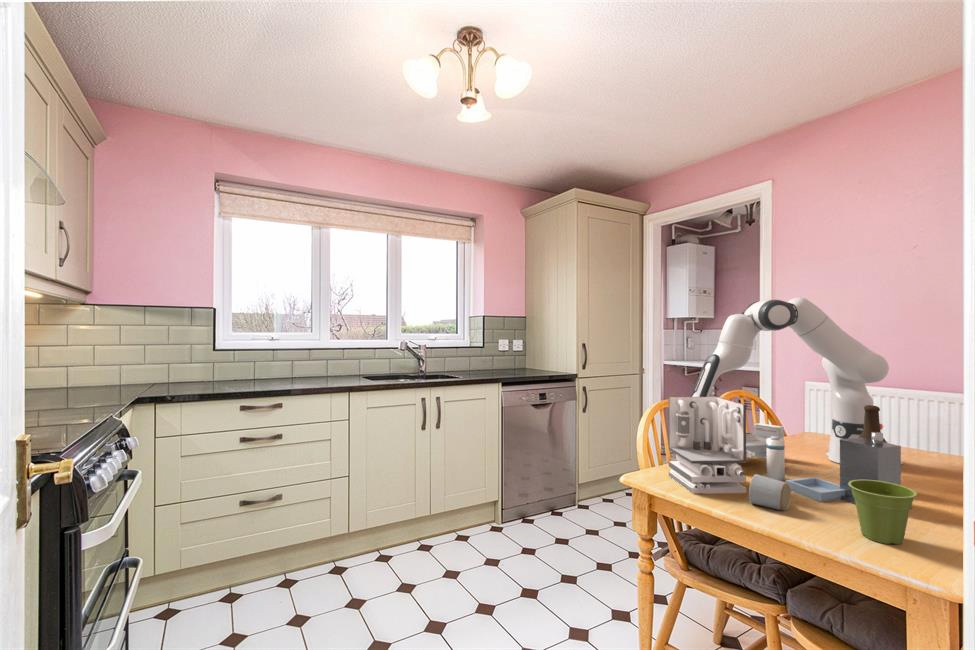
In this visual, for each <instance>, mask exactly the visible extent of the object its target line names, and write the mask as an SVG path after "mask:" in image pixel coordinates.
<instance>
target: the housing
mask: <svg viewBox="0 0 975 650" xmlns="http://www.w3.org/2000/svg"><path fill="white" fill-rule="evenodd" d="M883 438H884V433H883V432H881V433H880V432H871V439H866V438H862V437H861V438H849V439H840V463H839V485H840V489H844V490H845V496H841V500H840V501H843V502H846V503H850V504H852V505H854V506H856V503H855V498H854V497H853V493H852V489H851V487H850V486H849V485H848V482H849V481H852V480H877V481H883V482H889V483H893V484H897V485H901V486H902V482H901V481H902V477H901V476H902V473H901V472H902V466H901V465H902V464H901V461H902V459H901V458H902V456H901V455H902V447H901V445H899V444H894V443H890V442H888V443H885V442H883ZM910 510H912V506H911V507H910Z"/></svg>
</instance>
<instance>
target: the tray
mask: <svg viewBox="0 0 975 650" xmlns="http://www.w3.org/2000/svg"><path fill="white" fill-rule="evenodd" d="M785 483H786V484H788V485H789V487H790V492H792V491H793V493H795V494H799V495H800V494H801V496H804V497H806V498H810V499H811V500H813V501H817V502H819V503H827V502H834V501H842V500H841V496H845V490H844V489H840V484H838V483H835V482H831V481H829V480H825V479H822V478H820V477H815V476H813V477H805V478H795V479H794V478H793V479H785Z"/></svg>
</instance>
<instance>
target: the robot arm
mask: <svg viewBox="0 0 975 650" xmlns="http://www.w3.org/2000/svg"><path fill="white" fill-rule="evenodd" d="M788 327H789V328H790V329H791V330H792V331H793V332H794V333H795V334H796V335H797V336H798V337H799V338H800V339H801V340H802V341H803V342H804V344H806V345H807V346H808V347H809V348H810V349H811V350H813V352H815V353H816V354H819V355H820V356H821V357H823V358H822V360H821V366H822V369H823V371H824V373H825V374H826V376H827V378H828V381H829V384H830V385H829V386H830V389H831V392H832V399H833V401H832V402H833V419H831V421H832V422H831V429H832V430H833V431H832V432H831V433H830V437H829V446H828V451H826V454H825V455H826V456H827V458H828V460H829V461H831V462H834V463H837V464H840V439H849V438H858V437H859V436H860V435H861V434H862V432H863V428H864V415H865V410H864V406H866V405H873V406H874V399H873V398H872V396H871V395H870V393H869V392H868V388H867V385H866V384H874V383H878V382H880V381H882V380H884V379H885V378H886V377H887V375H888V373H889V370H890V368H889V363H888V360H886V358H885V357H883V356H882V355H880V354H878V353H877V352H874V351H873V350H871V349H870V348H868V347H867V346H865V345H864V344H863V343H861V342H860V341H858V340H857V339H856V338H854V337H852V336H851V335H850V334H848V333H847V332H846V331H844V330H843V328H841V327H840V326H839V325H838V324H837V323H836V322H835V321H834V320H832V319H831V317H830V316H828V315H827V314H826V313H825V312H824V311H823V310H822V309H821V308H820V307H818V306H817V305H816V304H815V303H813V302H812V301H810V300H809V299H807V298H805V297H803V296H802V297H801V296H800V297H799V296H798V297H797V296H796V297H793V298H791V299H789V300H788V301H785V300H781V299H763V300H759V301H754V302H753V303H751V304H749V305H748V306H747V307H746V308H745V309H744V310H743V311H742V313H735V314H731V315H729V316H728V317H727V319H726V320H725V321H724V324H723V326H722V330H721V332H720V335H719V338H718V343H717V345H716V348H715V350H714V351H713V353H711V355H709V356H708V357H707V358H706V359H705V361H704V363H703V365H702V367H701V370H700V372H699V374H698V377H697V379H696V383H695V385H694V388H693V390H692V392H691V395H690V396H689V397H711V393H712V390H713V388H714V387H715V384H716V380H717V379H718V378H719V376H721V375H722V374H724V373H727V372H731V371H735V370H738V369H741V368H743V366H745V365H747V364H748V363H749V360H750V359H751V355H752V352H753V351H752V350H753V346H754V342H755V341H754V340H755V339H756V336H757V335H758V333H760V332H762V331H765V332H770V331H780V330H784V329H786V328H788ZM883 428H884V425H883V423H880V431H882V430H883ZM886 442H887V443H889V442H888V441H887V440H886ZM762 454H767V448H766V439H765V438H762V437H758V436H755V434H754V432H753V433H752V432H746V458H750V459H751V458H756V457H755V455H762ZM903 464H904V463H903V461H902V460H901V465H903Z"/></svg>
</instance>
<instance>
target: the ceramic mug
mask: <svg viewBox="0 0 975 650" xmlns="http://www.w3.org/2000/svg"><path fill="white" fill-rule="evenodd" d="M748 498H749V501H750V503H751V504H754V505H758V506H762V507H766V508H770V509H773V510H776V511H777V510H778V511H786V510H787V509H788V507H789V504H790V502H791V491H790V487H789V485H788V484H786V482H784V481H779V480H775V479H771V478H768V477H767V476H764V475H761V474H758V473H757V474H755V473H754V475H752V477H751V479H750V482H749V488H748Z"/></svg>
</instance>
